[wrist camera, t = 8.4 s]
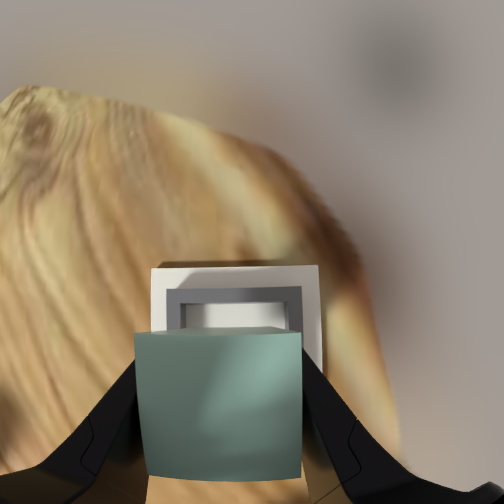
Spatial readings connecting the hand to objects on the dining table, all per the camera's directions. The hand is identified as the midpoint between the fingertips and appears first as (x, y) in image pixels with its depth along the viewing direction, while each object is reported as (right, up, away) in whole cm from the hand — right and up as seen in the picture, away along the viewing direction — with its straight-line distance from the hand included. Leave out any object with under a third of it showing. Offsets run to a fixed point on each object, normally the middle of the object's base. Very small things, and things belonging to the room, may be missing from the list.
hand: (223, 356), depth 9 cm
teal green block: (0, -3, +6) cm, 7 cm away
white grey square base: (0, -4, +12) cm, 13 cm away
